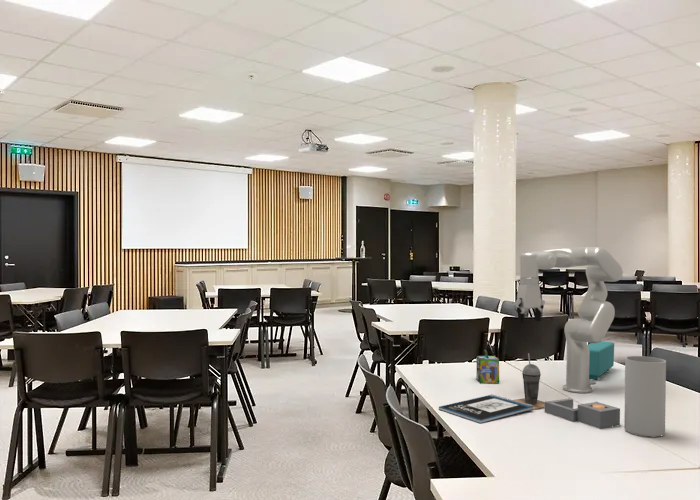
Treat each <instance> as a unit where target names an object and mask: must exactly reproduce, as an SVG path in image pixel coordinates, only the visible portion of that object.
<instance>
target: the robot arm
mask: <svg viewBox="0 0 700 500" xmlns="http://www.w3.org/2000/svg"><path fill="white" fill-rule="evenodd" d="M573 267H574V268H575V267H586V268H585V276H586V279H587V283H588V289H587V291H586V293H585V296H584V297H583V299H582V300H581V302H580V305H579V307H578V310H577V315H578V316H579V318H572V319H570V320H569V319H568V320H567V321H566V323H565V325H564V335H565V341H566V366H565V367H566V375H565V377H566V380H565V382H566V383H565V384H563V385H562V390H564V391H566V392H569V393H570V392H572V393H577V394H587V393H589V392H590V393H592V392H593V387H591V386H593V385H596V384H597V380H590V379H589V347H588V343H589V344H590V343H599V342H600V341H602V340H603V339H604V338H605V336H606V334H607V332H608V331H609V329H610V327H611V325H612V323H613V321H614V319H615V312H616V311H615V306H614V305H613V304H612V303H611V302H609V301H606V300H607V297H608V290H607V286H606V284H605V282H618V281H620V280H621V278H622V277H623V274H624V271H623V268H622V265H621V264H620V263H619V262H618V260H616V258H614V256H613V255H612V254H611V253H610V251H608V250H607V249H606V248H604V247H601V246H579V247H567V248H556V249H548V250H535V251H529V252H522V253H520V255H519V284H518V286H517V294H516V301H515V302H514V303H513V307H514V310H515V311H516V314H517V323H518V324H525V322H526V321H525V311H526V310H530V309H534V310H535V311H534V321H535V322H542V312H543V309H544V307H545V304H546V301H545V300H543V299H542V297H541V289H540V288H541V287H540V284H539V281H540V279H539V270H551V269H553V268H559V269H561V268H562V269H564V268H566V269H567V268H573ZM580 318H581V319H580ZM590 393H589V394H590Z"/></svg>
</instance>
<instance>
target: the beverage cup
mask: <svg viewBox="0 0 700 500" xmlns="http://www.w3.org/2000/svg"><path fill="white" fill-rule="evenodd" d="M527 358H528V364H526V365H525V366H524V367H523V369H522V373H521V375H522V381H523V393H524V398H525V403H527V404H537V400H539V399H538V398H539V397H538V396H539V390H540V389H539V387H540V381H541V375H542V373H541V369H540V368H539V367H538V366H537V365H536V364H534V363H533V364H531V358H530V353H529V352H528V353H527Z"/></svg>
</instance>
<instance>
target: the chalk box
mask: <svg viewBox="0 0 700 500" xmlns="http://www.w3.org/2000/svg"><path fill="white" fill-rule="evenodd" d="M484 354H485V355H476V375H475V376H476V380H477V382H479V383H478V384H500V358H498V357H496V356H495V355H489V353H488V351H487V349H484Z"/></svg>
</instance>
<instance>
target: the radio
mask: <svg viewBox="0 0 700 500" xmlns="http://www.w3.org/2000/svg"><path fill="white" fill-rule="evenodd" d="M587 345H588V347H589V380H590V379H597V380H598V379H599V377H600V376H601V375H603V374H605V372H606V371H610V369H611V368H613V367H614V361H615V343H614V342H612V341H604V340H603V341H602V340H601V341H600V342H599V343H589V344H588V343H587ZM606 373H607V372H606Z"/></svg>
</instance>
